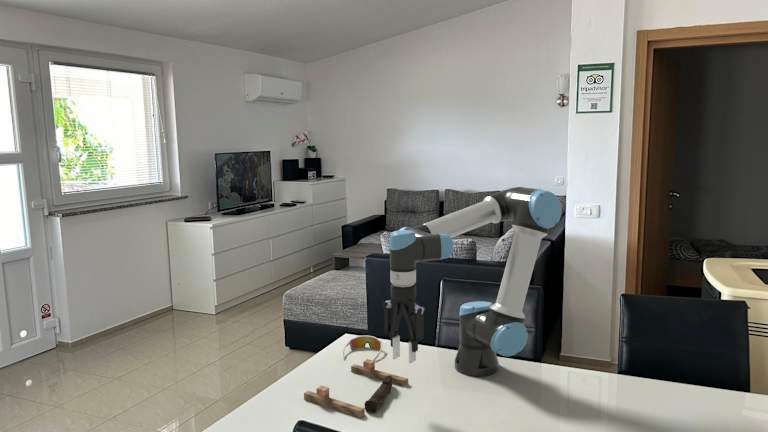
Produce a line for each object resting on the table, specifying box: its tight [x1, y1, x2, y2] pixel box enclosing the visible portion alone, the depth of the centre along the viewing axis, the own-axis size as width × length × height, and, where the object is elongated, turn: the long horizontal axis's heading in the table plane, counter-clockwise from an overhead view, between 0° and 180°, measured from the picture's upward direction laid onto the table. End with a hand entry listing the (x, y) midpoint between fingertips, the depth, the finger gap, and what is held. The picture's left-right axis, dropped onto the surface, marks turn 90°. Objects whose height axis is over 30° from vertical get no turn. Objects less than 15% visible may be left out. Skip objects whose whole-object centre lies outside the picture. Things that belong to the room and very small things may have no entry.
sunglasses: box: [342, 334, 383, 362], centre depth 213 cm, size 14×15×5 cm
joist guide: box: [303, 358, 409, 419], centre depth 182 cm, size 22×26×5 cm
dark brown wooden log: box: [364, 375, 393, 414], centre depth 177 cm, size 19×4×5 cm, turn 158°
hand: (404, 359), depth 170 cm, fingers open, 5 cm apart
